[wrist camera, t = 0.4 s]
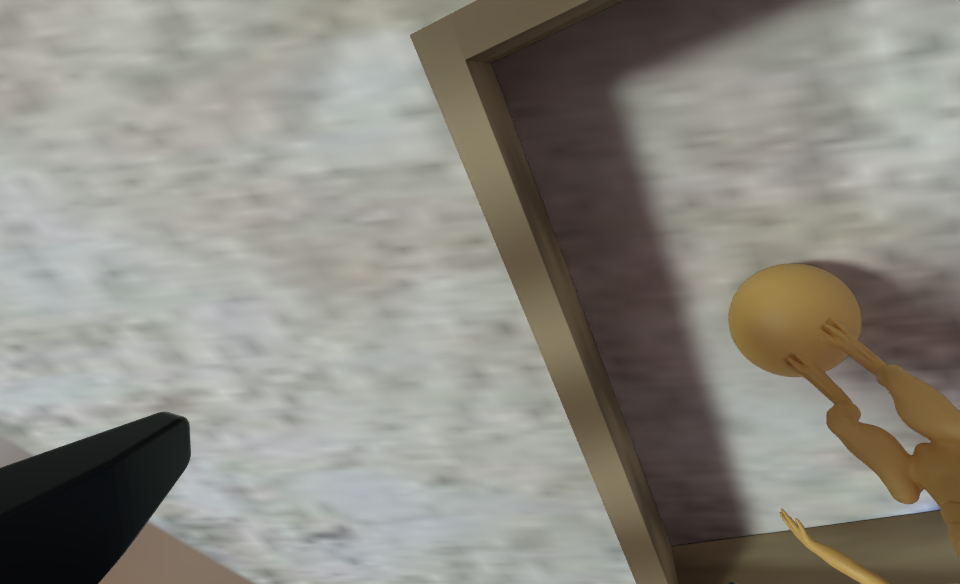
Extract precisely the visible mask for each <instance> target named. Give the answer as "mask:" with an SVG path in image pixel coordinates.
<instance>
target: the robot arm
mask: <svg viewBox="0 0 960 584" xmlns="http://www.w3.org/2000/svg"><path fill="white" fill-rule="evenodd" d="M190 456H191V445H190V425H189V422H188V420H187V418H185V417H183V416H179V415H176V414H173V413H169V412H160V413H156V414H153V415H150V416H148V417H145V418H142V419H139V420H136V421H133V422H130V423H127V424H125V425H122V426H119V427H116V428H113V429H110V430H107V431H105V432H102V433H99V434H96V435H93V436H90V437H87V438H84V439H82V440H79V441H76V442H73V443H70V444H67V445H64V446H62V447H59V448H56V449H53V450H50V451H47V452H44V453H41V454H39V455H36V456H33V457H30V458H27V459H24V460H22V461H19V462H16V463H13V464H10V465H7V466H4V467H1V468H0V584H98V583H99V582H100V581H101V580H102V579H103V577H104V576H105V575H106V574H107V573H108V572H109V571H110V569H111V568H112V567H113V566H114V565H115V563H116V562H117V561H118V560H119V559H120V557H121V556H122V555H123V554H124V553H125V551H126V550H127V549H128V547H129V546H130V545H131V543H132V542H133V541H134V540H135V538H136V537H137V536H138V534H139V533H140V531H141V530H142V529H143V527H144V526H145V525H146V523H147V522H148V520H149V519H150V518H151V516H152V515H153V513H154V512H155V511H156V509H157V508H158V507H159V505H160V504H161V502H162V501H163V500H164V498H165V497H166V495H167V494H168V493H169V491H170V490H171V488H172V487H173V486H174V484H175V483H176V482H177V480H178V479H179V477H180V476H181V475H182V473H183V472H184V470H185V469H186V467H187V465H188V463H189V460H190ZM727 584H738V583H735V582H729V583H727Z"/></svg>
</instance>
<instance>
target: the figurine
mask: <svg viewBox="0 0 960 584" xmlns="http://www.w3.org/2000/svg"><path fill="white" fill-rule="evenodd" d="M728 322H729V329H730V333H731V336H732V338H733V341H734V343H735V344H736V346H737V348H738V349H739V350H740V352H741V353H742V354H743V355H744V356H745V357H746V358H747V359H748V360H749V361H750V362H752V363H753V364H755V365H756V366H758V367H759V368H761V369H763V370H765V371H768V372H770V373H773V374H777V375H781V376H787V377H804V378H806V379H807V380H808V381H810V382H811V383H812V384H813V385H814V386H815V387H816V388H817V389H818V390H819V391H820V392H822V393H823V394H824V395H825V396H826V397H827V398H828V399H829V400H831V401H832V402H833V403H834V404H835V405H834V406H833V407H832V408H831V409H829V410H828V411H827V426H828V428H829V429H830V430H831V431H832V432H833V433H834V434H835V435H836V436H837V437H838V438H839V439H840V440H841V441H842V442H843V444H844V445H845V446H846V447H847V449H848V450H849V451H850V452H851V453H852V454H854V455H855V456H856V457H857V458H858V459H860V460H861V461H862V462H863V463H865V464H866V465H867V466H868V467H869V468H871V469H872V470H873V471H874V472H875V473H876V474H877V475H878V476H879V477H880V479H881V480H882V482H883V483H884V484H885V486H886V487H887V489H888V490H889V492H890V494H891V495H892V496H893V498H894V499H895V500H897V501H899V502H901V503H904V504H913V503H915V502H917V501H918V499H919V496H920V493H921V492H922V490H923V489H925V490H926V491H927V492H928V493H929V494H930V495H931V496H932V498H933V499H934V500H935V501H936V503H937V504H938V505H939V507H940V512H941V515H942V518H943V520H944V522H945V523H946V525H947V527H948V533H949V538H950V541H951V542H953V544H952V546H953V548H954V550H955V552H956V553H957V555H958V556H959V557H960V411H959V410H958V409H957V408H956V407H955V406H954V405H953V404H952V403H951V402H950V401H949V400H948V399H947V398H946V397H944V396H943V395H942V394H941V393H940V392H938V391H937V390H936V389H935V388H933V387H932V386H930V385H928V384H927V383H925V382H923V381H921V380H919V379H917V378H916V377H914V376H912V375H910V374H908V373H906V372H905V370H904V369H903V368H901V367H900V366H898V365H894V364H888V365H887V364H886V363H884V362H883V361H882V360H881V359H880V358H879V357H878V356H876V355H875V354H874V353H873V352H872V351H870V350H869V349H868V348H867V347H866V346H864V345H863V344H862V343H861V342H860V341H858V339H859V336H860V332H861V325H862V319H861V312H860V308H859V305H858V302H857V300H856V298H855V296H854V295H853V293H852V292H851V290H850V289H849V288H848V287H847V286H846V285H845V284H844V283H843V282H842V281H841V280H840V279H839V278H837V277H836V276H834V275H833V274H831V273H829V272H827V271H825V270H823V269H820V268H818V267H814V266H810V265H805V264H781V265H776V266H772V267H769V268H766V269H764V270H761V271H759V272H758V273H756V274H754V275H753V276H751V277H750V278H749V279H747V280H746V281H745V282H744V283H743V284H742V285H741V286H740V288H739V289H738V290H737V292H736V293H735V295H734V297H733V299H732V302H731V305H730V308H729V316H728ZM848 355H849V356H851V357H852V358H853V359H855V360H856V361H857V362H859V363H860V364H861V365H862V366H863V367H865V368H866V369H867V370H869V371H870V372H872V373H873V374H875V375H876V376H877V381H878V383H880V384H881V385H883V386H884V387H886V389H887V390H888V391H889V393H890V394H891V396H892V397H893V400H894V403H895V407H896V410H897V412H898V414H899V416H900V418H901V419H902V420H903V421H904V422H905V423H906V424H907V425H908V426H909V427H910V428H911V429H913V430H914V431H916V432H917V433H919V434H921V435H922V436H924V437H926V438H928V439H929V440H931V443H921V444H918V445H917V446H916V447H915V449H914V454H913V455H910V454H908V453H907V452H906V451H905V449H904V448H903V447H902V446H901V444H900V443H899V442H898V441H897V440H896V439H895V438H894V437H893V436H892V435H891V434H890V433H888V432H887V431H885V430H884V429H882V428H879V427H877V426H873V425H869V424H864V423H860V422H858V421H859V419H860V416H861V413H860V410H859V409H858V407H857V406H856V405H854V404H853V403H852V401H851V400H850V398H849V397H848V396H847V395H846V394H845V393H844V392H843V390H842V389H840V388H839V387H838V386H837V385H836V384H835V383H834V382H833V381H832V380H831V379H830V378H829V377H828V376H827V375H826V374H825V372H826V371H828V370H830V369H832V368H834V367H835V366H837V365H838V364H840V363H841V362H842V361H843V360H845V359H846V358H847V357H848ZM781 511H782V512H780V516H781V518H782V519H783V521H784V522H785V523H786V524H787V525H788V527H789V528H790V529H791V531H792V532H793V534H794V535H795V536H796V537H797V538H798V539H799V540H800V541H801V542H802V543H803V544H804V545H805V546H806V547H807V548H808V549H809V550H811V551H812V552H814V553H815V554H817V555H818V556H819V557H821V558H822V559H823V560H824V561H825V562H827V563H828V564H829V565H831V566H832V567H834V568H835V569H837V570H839V571H840V572H842V573H844V574H846V575H847V576H849V577H851V578H852V579H854V580H856V581H857V582H859V583H861V584H890V583H889V582H887V581H886V580H885V579H884V578H882V577H881V576H879V575H877V574H875V573H873V572H872V571H870V570H868V569H866V568H865V567H864V566H862V565H861V564H860V563H858V562H857V561H855V560H854V559H852V558H851V557H849V556H847V555H846V554H844V553H842V552H840V551H839V550H837V549H835V548H832V547H830V546H828V545H825V544H823V543H820V542H818V541H816V540H814V539H812V538H811V537H810V536H809V535H808V533H807V531H806V530H805V528H804V526H803V525H802V523H801V522H800V521H799V520H798V519H797V518H795V520H796V523H797V524H798V525H797V524H796V523H795V522H794V521H793V519H792V518H791V517H790V516H789V515H788V514H787V513H786V512H785V511H784V509H781ZM954 584H960V583H954Z"/></svg>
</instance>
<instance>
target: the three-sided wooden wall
mask: <svg viewBox="0 0 960 584" xmlns="http://www.w3.org/2000/svg"><path fill="white" fill-rule="evenodd" d="M622 1H624V0H477V1H475V2H473V3H471V4H469V5H467V6H465V7H463V8H461V9H459V10H457V11H455V12H454V13H452V14H450V15H448V16H446V17H444V18H442V19H440V20H438V21H436V22H434V23H432V24H430V25H428V26H426V27H425V28H423V29H421V30H419V31H417V32H415V33H413V34H411V35H410V37H411V39H412V42H413V44H414V47H415V49H416V51H417V54H418V56H419V59H420V61H421V64H422V66H423V68H424V71H425V73H426V76H427V78H428V80H429V83H430V85H431V88H432V90H433V93H434V95H435V97H436V100H437V102H438V105H439V107H440V109H441V112H442V114H443V117H444V119H445V122H446V124H447V126H448V129H449V131H450V134H451V136H452V139H453V141H454V143H455V146H456V148H457V151H458V153H459V155H460V158H461V160H462V163H463V165H464V168H465V170H466V172H467V175H468V177H469V180H470V182H471V184H472V187H473V189H474V192H475V194H476V197H477V199H478V201H479V204H480V206H481V209H482V211H483V213H484V216H485V218H486V221H487V223H488V226H489V228H490V230H491V233H492V235H493V238H494V240H495V243H496V245H497V247H498V250H499V252H500V255H501V257H502V259H503V262H504V264H505V267H506V269H507V272H508V274H509V276H510V279H511V281H512V284H513V286H514V288H515V291H516V293H517V296H518V298H519V301H520V303H521V305H522V308H523V310H524V313H525V315H526V317H527V320H528V322H529V325H530V327H531V330H532V332H533V334H534V337H535V339H536V342H537V344H538V347H539V349H540V351H541V354H542V356H543V359H544V361H545V363H546V366H547V368H548V371H549V373H550V376H551V378H552V380H553V383H554V385H555V388H556V390H557V392H558V395H559V397H560V400H561V402H562V405H563V407H564V409H565V412H566V414H567V417H568V419H569V421H570V424H571V426H572V429H573V431H574V434H575V436H576V438H577V441H578V443H579V446H580V448H581V451H582V453H583V455H584V458H585V460H586V463H587V465H588V467H589V470H590V472H591V475H592V477H593V480H594V482H595V484H596V487H597V489H598V492H599V494H600V496H601V499H602V501H603V504H604V506H605V509H606V511H607V513H608V516H609V518H610V521H611V523H612V525H613V528H614V530H615V533H616V535H617V538H618V540H619V542H620V545H621V547H622V550H623V552H624V555H625V557H626V559H627V562H628V564H629V567H630V569H631V571H632V574H633V576H634V579H635V581H636V584H727V583H729V582H735V583H738V584H861V583H859V582H857V581H856V580H854V579H852V578H851V577H849V576H847V575H846V574H844V573H842V572H840V571H839V570H837V569H835V568H834V567H832V566H831V565H829V564H828V563H827V562H825V561H824V560H823V559H822V558H821V557H819V556H818V555H817V554H815V553H814V552H812V551H811V550H809V549H808V548H807V547H806V546H805V545H804V544H803V543H802V542H801V541H800V540H799V539H798V538H797V537H796V536H795V535H794V534H793V532H792V531H784V532H776V533H769V534H761V535H754V536H747V537H739V538H732V539H724V540H717V541H709V542H702V543H695V544H687V545H680V546H672V547H671V544H670V542H669V539H668V536H667V534H666V531H665V528H664V526H663V523H662V520H661V518H660V515H659V512H658V510H657V507H656V504H655V501H654V499H653V496H652V493H651V491H650V488H649V485H648V483H647V480H646V477H645V475H644V472H643V469H642V467H641V464H640V461H639V459H638V456H637V453H636V450H635V448H634V445H633V442H632V440H631V437H630V434H629V432H628V429H627V426H626V424H625V421H624V418H623V416H622V413H621V410H620V408H619V405H618V402H617V400H616V397H615V394H614V391H613V389H612V386H611V383H610V381H609V378H608V375H607V373H606V370H605V367H604V365H603V362H602V359H601V357H600V354H599V351H598V349H597V346H596V343H595V341H594V338H593V335H592V332H591V330H590V327H589V324H588V322H587V319H586V316H585V314H584V311H583V308H582V306H581V303H580V300H579V298H578V295H577V292H576V290H575V287H574V284H573V282H572V279H571V276H570V273H569V271H568V268H567V265H566V263H565V260H564V257H563V255H562V252H561V249H560V247H559V244H558V241H557V239H556V236H555V233H554V231H553V228H552V225H551V223H550V220H549V217H548V214H547V212H546V209H545V206H544V204H543V201H542V198H541V196H540V193H539V190H538V188H537V185H536V182H535V180H534V177H533V174H532V172H531V169H530V166H529V163H528V161H527V158H526V155H525V153H524V150H523V147H522V145H521V142H520V139H519V137H518V134H517V131H516V129H515V126H514V123H513V121H512V118H511V115H510V113H509V110H508V107H507V104H506V102H505V99H504V96H503V94H502V91H501V88H500V86H499V83H498V80H497V78H496V75H495V72H494V70H493V67H492V64H491V63H492V62H494V61H496V60H499V59H501V58H503V57H505V56H507V55H509V54H511V53H513V52H516V51H518V50H520V49H522V48H524V47H526V46H528V45H530V44H533V43H535V42H537V41H539V40H541V39H543V38H545V37H547V36H550V35H552V34H554V33H556V32H558V31H560V30H562V29H564V28H566V27H569V26H571V25H573V24H575V23H577V22H579V21H581V20H583V19H586V18H588V17H590V16H592V15H594V14H596V13H598V12H600V11H603V10H605V9H607V8H609V7H611V6H613V5H615V4H617V3H620V2H622ZM805 530H806V531H807V533H808V535H809V536H810V537H811V538H812V539H814V540H816V541H818V542H820V543H823V544H825V545H828V546H830V547H832V548H835V549H837V550H839V551H840V552H842V553H844V554H846V555H847V556H849V557H851V558H852V559H854V560H855V561H857V562H858V563H860V564H861V565H862V566H864V567H865V568H866V569H868V570H870V571H872V572H873V573H875V574H877V575H879V576H881V577H882V578H884V579H885V580H886V581H887V582H889V583H890V584H954V583H960V557H959V556H958V555H957V553H956V552H955V550H954V548H953V546H952V544H953V542H951V541H950V538H949V533H948V527H947V525H946V523H945V522H944V520H943V518H942V515H941V512H940V510H939V511H932V512H925V513H917V514H910V515H902V516H895V517H888V518H880V519H873V520H865V521H858V522H850V523H843V524H836V525H828V526H821V527H813V528H806V529H805Z"/></svg>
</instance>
